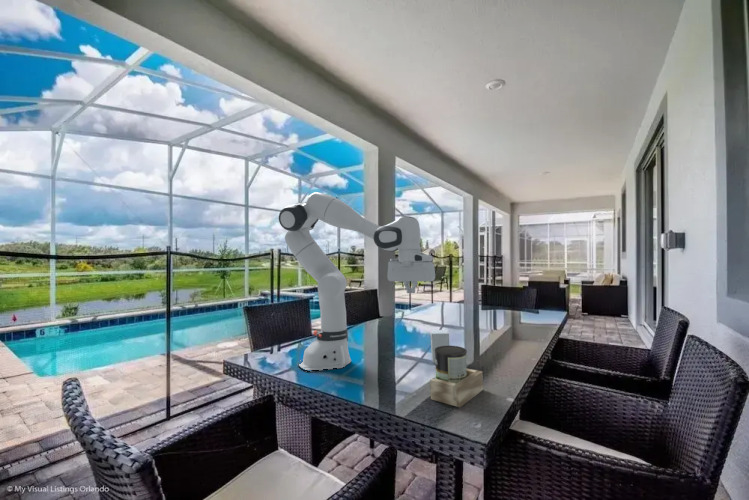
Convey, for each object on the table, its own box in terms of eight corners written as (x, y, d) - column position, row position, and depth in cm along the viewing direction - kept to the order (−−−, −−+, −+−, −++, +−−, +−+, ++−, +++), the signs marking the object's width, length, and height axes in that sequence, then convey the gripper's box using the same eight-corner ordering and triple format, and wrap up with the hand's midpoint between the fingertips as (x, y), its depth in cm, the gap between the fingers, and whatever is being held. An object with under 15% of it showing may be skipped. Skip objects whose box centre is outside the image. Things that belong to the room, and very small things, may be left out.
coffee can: (432, 396, 111) (431, 352, 111) (439, 384, 120) (438, 344, 121) (465, 400, 107) (464, 355, 107) (469, 388, 116) (468, 346, 117)
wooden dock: (430, 399, 109) (430, 380, 109) (455, 383, 122) (455, 366, 122) (459, 407, 102) (459, 387, 102) (483, 389, 115) (482, 371, 115)
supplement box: (448, 358, 151) (447, 329, 151) (450, 363, 143) (449, 333, 144) (431, 358, 151) (430, 329, 152) (432, 363, 144) (431, 333, 144)
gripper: (383, 258, 138) (384, 293, 138) (428, 256, 125) (429, 294, 125) (392, 258, 143) (393, 292, 142) (436, 256, 130) (438, 293, 130)
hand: (410, 293), depth 133 cm, fingers closed
